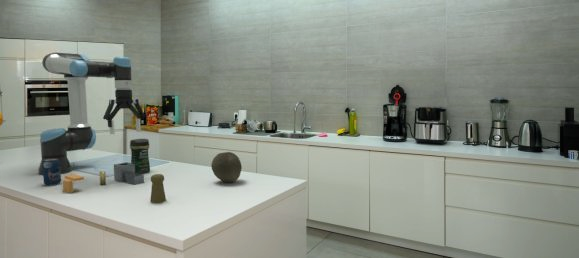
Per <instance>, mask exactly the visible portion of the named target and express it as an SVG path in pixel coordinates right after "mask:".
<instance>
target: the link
mask: <svg viewBox="0 0 579 258" xmlns="http://www.w3.org/2000/svg"><path fill="white" fill-rule="evenodd" d="M113 176H114V177H113V178H114V181H116V182H119V183H127V184H131V185H135V186H136V185H141V184H144V183H145V175H144V173H142V174H139V173H135V164H133V163H131V162H121V163H116V164H115V163H114V164H113Z"/></svg>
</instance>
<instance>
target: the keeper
mask: <svg viewBox="0 0 579 258" xmlns="http://www.w3.org/2000/svg"><path fill="white" fill-rule="evenodd" d="M83 180H85V177H84V176H83V175H80V174H79V175H78V174H76V173H73V174H67V175H64V179H61V182H62V192H64V193H67V194H70V193H74V185H73V184H74V182H77V181H78V182H79V181H83Z"/></svg>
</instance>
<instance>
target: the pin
mask: <svg viewBox="0 0 579 258" xmlns="http://www.w3.org/2000/svg"><path fill="white" fill-rule="evenodd" d="M106 178H107V177H106V171H99V184H100V186H106V185H107V179H106Z"/></svg>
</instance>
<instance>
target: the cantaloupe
mask: <svg viewBox="0 0 579 258" xmlns="http://www.w3.org/2000/svg"><path fill="white" fill-rule="evenodd" d="M210 165H211V171H212V173H213V174H214V176H215V177H216V178H217V179H218V180H220V181H221V182H224V183H233V182H235V181H238V179H239V178H240V176H241V172H242V167H243V166H242V163H241V160H240V158H239V156H238V155H236V154H235V153H234V152H231V151H226V152H219V153H217V154H216V155H215V156H214V157H213V159H212V161H211V164H210Z"/></svg>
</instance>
